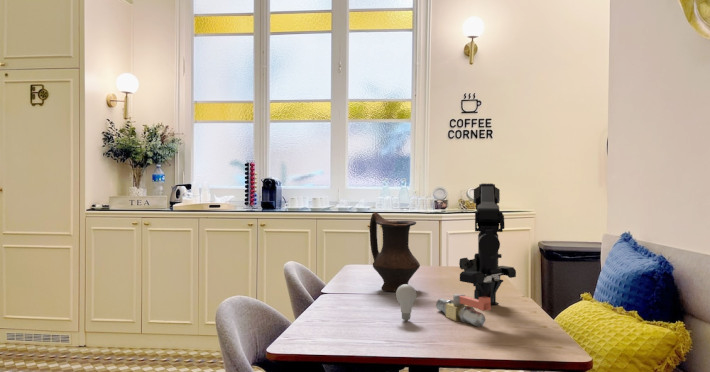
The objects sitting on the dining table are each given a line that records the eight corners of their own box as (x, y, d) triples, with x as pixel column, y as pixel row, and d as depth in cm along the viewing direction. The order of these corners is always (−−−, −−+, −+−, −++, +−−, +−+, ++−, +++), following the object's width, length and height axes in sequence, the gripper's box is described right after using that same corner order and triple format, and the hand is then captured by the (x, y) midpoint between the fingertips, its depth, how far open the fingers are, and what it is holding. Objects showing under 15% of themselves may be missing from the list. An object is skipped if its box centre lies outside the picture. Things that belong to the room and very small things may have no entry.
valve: (449, 311, 182) (449, 295, 182) (488, 327, 161) (488, 309, 161) (433, 313, 180) (433, 297, 180) (470, 329, 159) (470, 311, 159)
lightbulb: (418, 319, 168) (418, 283, 168) (413, 324, 162) (413, 286, 162) (398, 318, 170) (398, 282, 170) (393, 322, 164) (393, 285, 164)
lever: (491, 312, 159) (491, 297, 159) (481, 313, 158) (481, 298, 158) (460, 302, 173) (460, 288, 173) (450, 303, 171) (450, 289, 171)
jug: (428, 288, 221) (428, 213, 221) (406, 296, 205) (407, 214, 205) (381, 283, 232) (382, 211, 232) (358, 290, 216) (358, 213, 216)
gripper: (487, 245, 174) (487, 295, 174) (445, 250, 163) (445, 303, 163) (517, 248, 165) (517, 301, 165) (475, 254, 154) (475, 310, 154)
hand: (488, 303), depth 162 cm, fingers closed
